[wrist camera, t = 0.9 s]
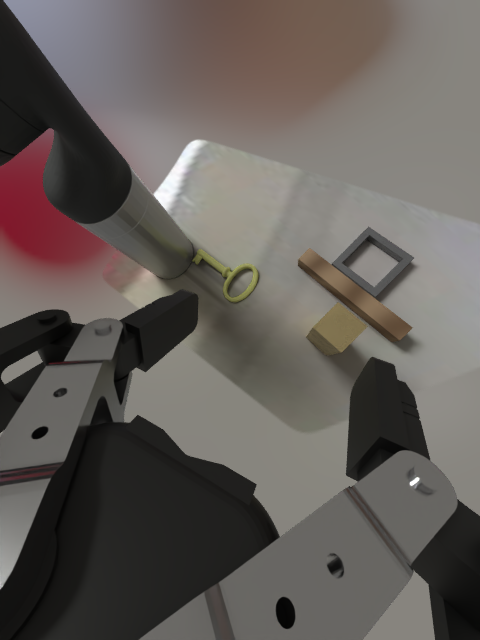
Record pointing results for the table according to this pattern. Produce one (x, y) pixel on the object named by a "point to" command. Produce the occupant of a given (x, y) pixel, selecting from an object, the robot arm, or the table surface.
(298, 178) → the table surface
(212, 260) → the key
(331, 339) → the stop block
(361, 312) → the brown square bar
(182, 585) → the robot arm
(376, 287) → the keeper
